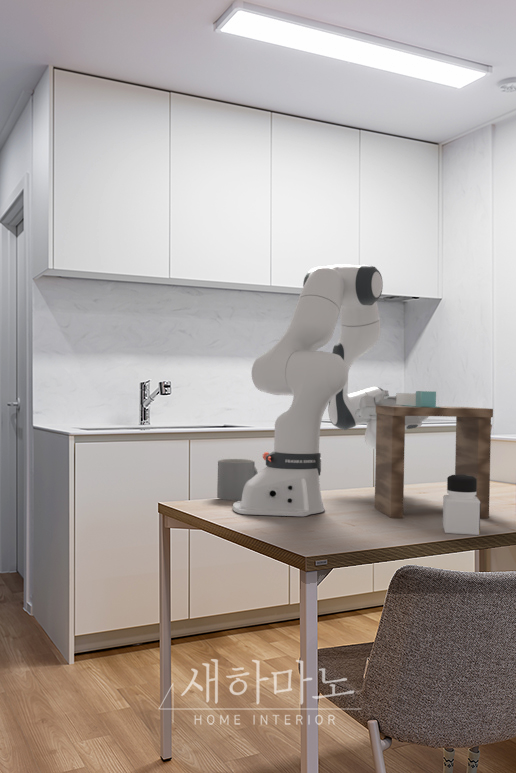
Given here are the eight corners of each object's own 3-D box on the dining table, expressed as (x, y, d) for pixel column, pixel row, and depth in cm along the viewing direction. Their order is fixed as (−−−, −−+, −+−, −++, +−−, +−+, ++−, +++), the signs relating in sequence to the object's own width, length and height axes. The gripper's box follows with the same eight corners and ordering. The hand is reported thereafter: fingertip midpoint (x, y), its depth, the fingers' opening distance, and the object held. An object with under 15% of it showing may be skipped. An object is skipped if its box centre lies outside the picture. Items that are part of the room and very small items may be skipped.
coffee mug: (231, 501, 181) (232, 463, 181) (209, 496, 189) (210, 459, 189) (271, 497, 190) (271, 460, 190) (248, 492, 198) (249, 457, 198)
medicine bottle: (480, 535, 145) (481, 478, 145) (444, 533, 146) (445, 476, 146) (476, 528, 152) (477, 474, 152) (442, 527, 153) (443, 472, 153)
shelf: (391, 518, 162) (394, 406, 162) (373, 506, 178) (375, 404, 178) (490, 518, 164) (493, 407, 164) (464, 507, 180) (466, 406, 180)
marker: (435, 406, 165) (436, 391, 165) (421, 406, 165) (421, 391, 165) (405, 404, 188) (406, 391, 188) (392, 404, 188) (393, 390, 188)
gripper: (352, 406, 197) (363, 381, 185) (422, 407, 199) (437, 383, 187) (354, 426, 194) (366, 402, 182) (426, 427, 196) (441, 403, 184)
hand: (403, 392), depth 185 cm, fingers open, 8 cm apart
